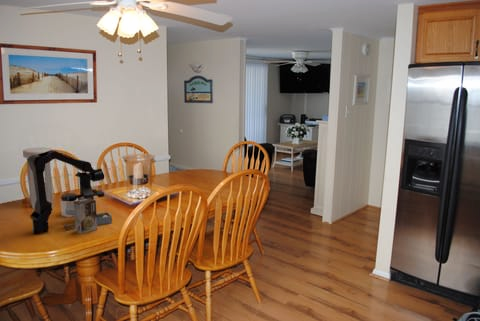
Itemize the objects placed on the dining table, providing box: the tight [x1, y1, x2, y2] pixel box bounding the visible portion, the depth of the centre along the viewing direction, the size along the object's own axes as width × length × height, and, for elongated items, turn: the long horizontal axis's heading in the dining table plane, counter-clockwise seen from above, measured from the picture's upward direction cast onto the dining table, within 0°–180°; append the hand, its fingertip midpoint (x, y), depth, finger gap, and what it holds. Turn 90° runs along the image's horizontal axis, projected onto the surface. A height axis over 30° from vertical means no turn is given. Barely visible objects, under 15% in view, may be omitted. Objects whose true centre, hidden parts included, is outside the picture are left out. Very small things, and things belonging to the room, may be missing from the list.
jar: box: [60, 192, 78, 218], centre depth 222 cm, size 9×8×12 cm
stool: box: [22, 147, 54, 209], centre depth 237 cm, size 16×16×35 cm
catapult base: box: [63, 223, 76, 231], centre depth 205 cm, size 15×6×6 cm, turn 124°
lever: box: [65, 209, 75, 217], centre depth 208 cm, size 14×13×2 cm
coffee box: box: [74, 198, 98, 235], centre depth 199 cm, size 9×6×16 cm
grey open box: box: [96, 211, 113, 227], centre depth 212 cm, size 8×8×4 cm
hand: (86, 210), depth 215 cm, fingers closed
